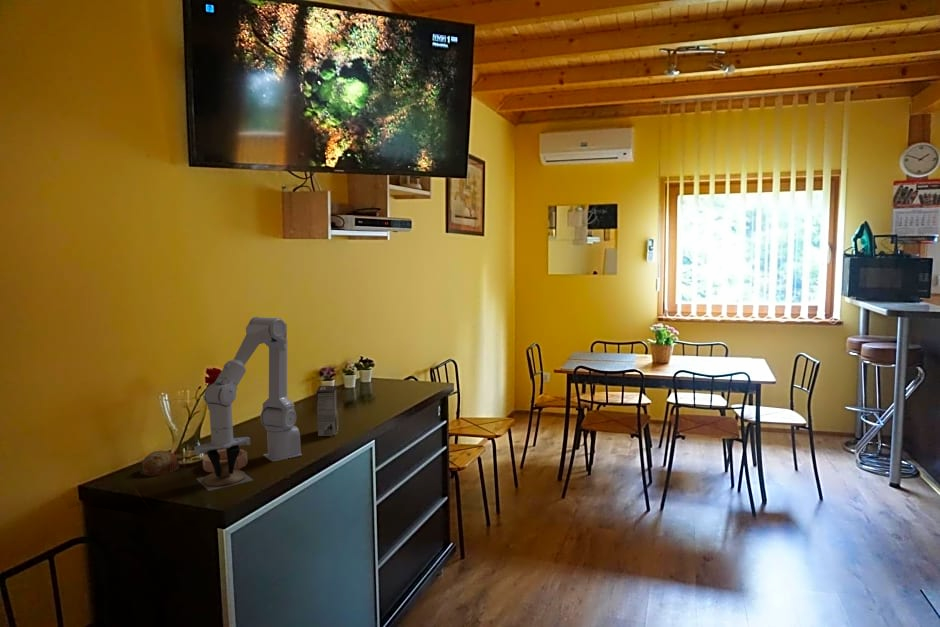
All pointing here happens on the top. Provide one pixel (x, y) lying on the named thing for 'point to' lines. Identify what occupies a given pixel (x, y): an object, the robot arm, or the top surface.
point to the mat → (223, 486)
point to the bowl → (226, 460)
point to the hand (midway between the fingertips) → (224, 474)
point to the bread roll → (159, 463)
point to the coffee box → (327, 410)
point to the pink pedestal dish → (224, 477)
